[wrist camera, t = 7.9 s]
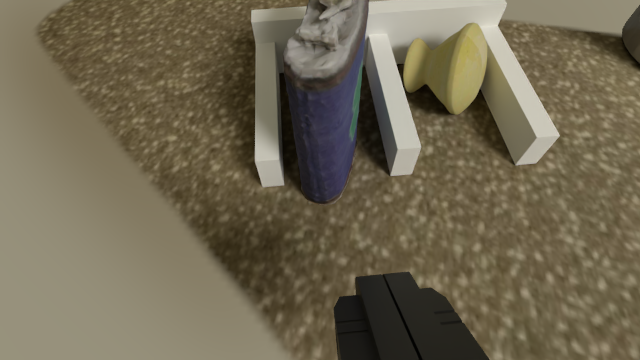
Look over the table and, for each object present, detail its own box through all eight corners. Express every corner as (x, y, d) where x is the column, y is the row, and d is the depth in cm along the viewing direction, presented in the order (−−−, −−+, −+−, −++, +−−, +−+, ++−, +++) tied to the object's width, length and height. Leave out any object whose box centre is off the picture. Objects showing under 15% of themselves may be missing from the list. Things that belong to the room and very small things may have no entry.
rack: (477, 46, 26) (500, -8, 22) (535, 163, 20) (577, 115, 17) (261, 62, 25) (251, 10, 22) (262, 187, 20) (249, 143, 17)
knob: (482, 83, 24) (516, 14, 20) (457, 135, 22) (488, 70, 18) (417, 59, 25) (435, -9, 21) (386, 106, 23) (399, 40, 19)
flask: (319, 84, 24) (315, -107, 15) (362, 88, 24) (385, -104, 15) (294, 204, 19) (267, 31, 10) (348, 210, 19) (369, 39, 10)
